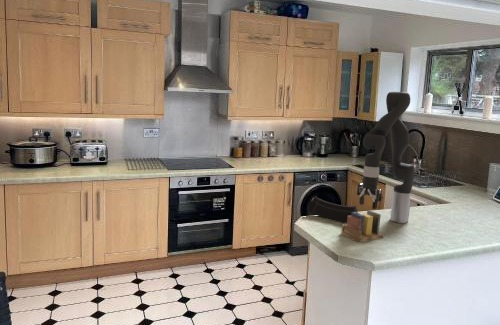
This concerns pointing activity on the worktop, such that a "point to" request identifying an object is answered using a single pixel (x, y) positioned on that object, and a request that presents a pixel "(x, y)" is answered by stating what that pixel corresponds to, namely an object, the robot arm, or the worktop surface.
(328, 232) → the worktop surface
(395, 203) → the robot arm
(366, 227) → the book
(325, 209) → the magazine
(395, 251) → the worktop surface
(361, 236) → the shelf
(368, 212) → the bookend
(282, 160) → the worktop surface
